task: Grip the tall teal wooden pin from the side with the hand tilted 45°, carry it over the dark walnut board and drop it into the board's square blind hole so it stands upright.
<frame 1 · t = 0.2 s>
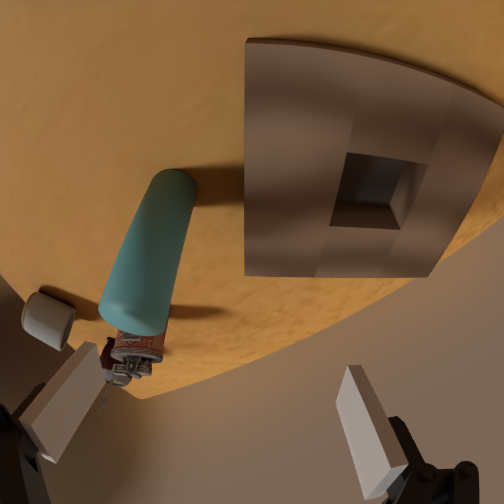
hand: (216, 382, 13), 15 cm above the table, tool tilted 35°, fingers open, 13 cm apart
lighter: (146, 308, 38), on the table
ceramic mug: (57, 304, 39), on the table
mate gourd: (120, 342, 48), on the table
pin: (173, 189, 23), on the table
hole board: (362, 165, 20), on the table
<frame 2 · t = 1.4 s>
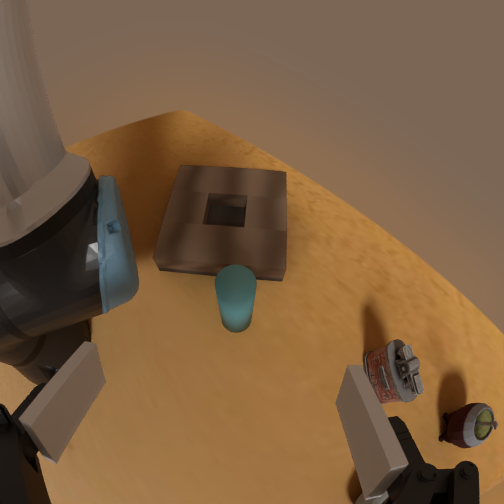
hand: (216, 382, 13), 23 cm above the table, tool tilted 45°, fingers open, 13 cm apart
lighter: (375, 378, 34), on the table
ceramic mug: (383, 491, 25), on the table
mate gourd: (448, 427, 29), on the table
pin: (236, 318, 38), on the table
hole board: (226, 224, 45), on the table
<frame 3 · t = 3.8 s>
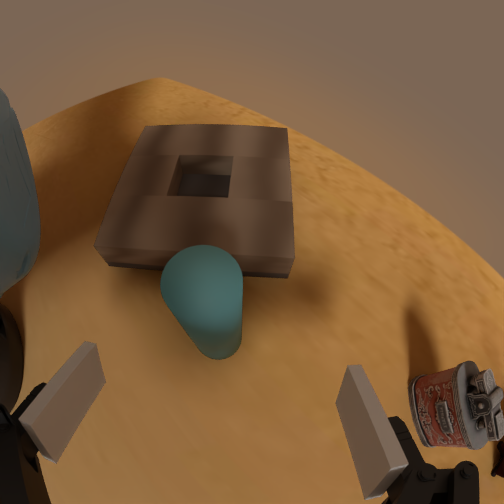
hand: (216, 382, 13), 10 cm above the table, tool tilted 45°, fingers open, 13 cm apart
lighter: (424, 412, 20), on the table
mate gourd: (501, 458, 15), on the table
pin: (218, 337, 24), on the table
hole board: (204, 199, 31), on the table
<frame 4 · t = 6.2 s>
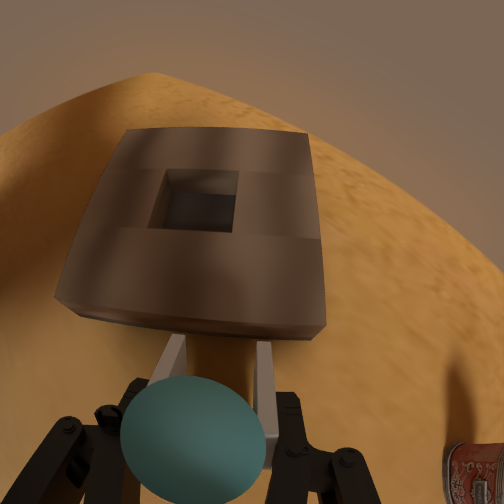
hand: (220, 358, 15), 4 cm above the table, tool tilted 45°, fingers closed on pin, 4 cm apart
lighter: (455, 478, 13), on the table
pin: (220, 419, 16), on the table, touching gripper
hole board: (200, 227, 24), on the table
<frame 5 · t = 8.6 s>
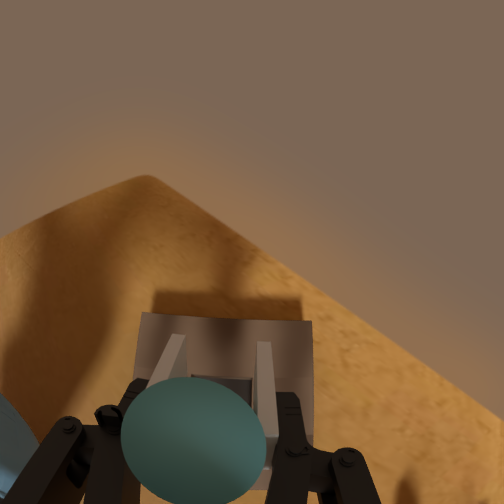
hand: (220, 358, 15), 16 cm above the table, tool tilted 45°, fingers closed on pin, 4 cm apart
pin: (220, 420, 16), point 12 cm above the table, touching gripper
hole board: (222, 405, 28), on the table
when the fingers open (7 cm above the table, at t = 11.1 s): pin drops 2 cm, resting on hole board.
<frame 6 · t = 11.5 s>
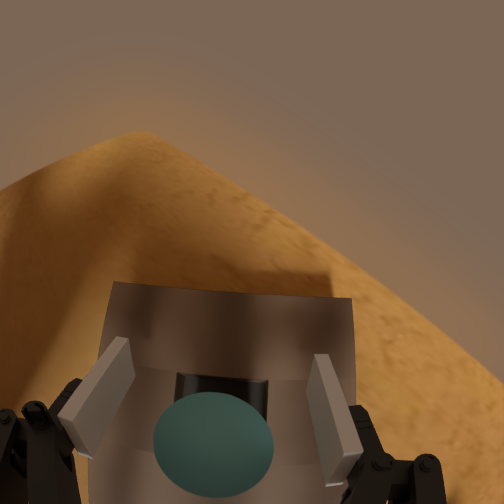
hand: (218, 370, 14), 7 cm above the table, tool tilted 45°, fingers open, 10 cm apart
pin: (222, 419, 18), point 1 cm above the table, touching hole board
hole board: (222, 417, 19), on the table
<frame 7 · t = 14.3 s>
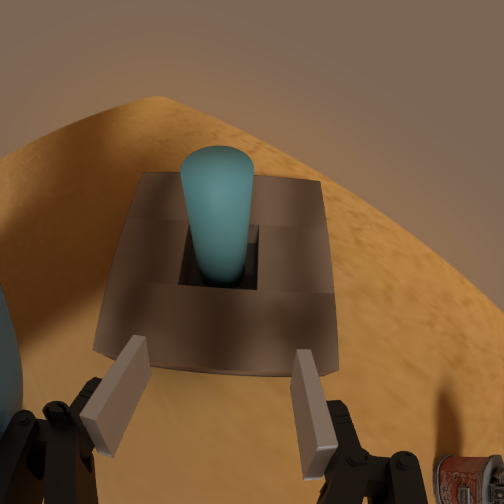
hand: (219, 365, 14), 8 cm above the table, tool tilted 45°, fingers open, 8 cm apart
lighter: (444, 484, 15), on the table
pin: (222, 270, 25), point 1 cm above the table, touching hole board
hole board: (222, 275, 26), on the table
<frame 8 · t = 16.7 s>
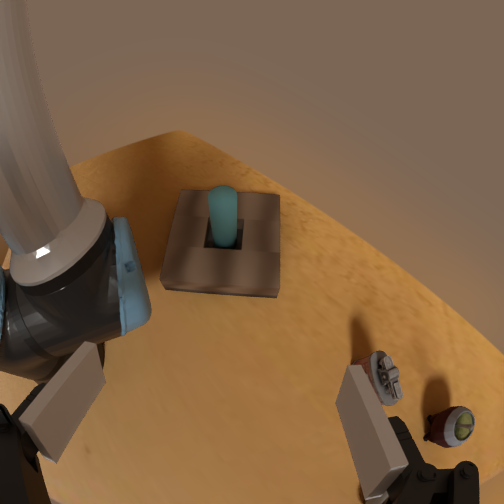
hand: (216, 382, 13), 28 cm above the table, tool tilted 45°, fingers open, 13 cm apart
lighter: (362, 383, 38), on the table
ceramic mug: (389, 492, 28), on the table
mate gourd: (432, 428, 33), on the table
pin: (225, 243, 48), point 1 cm above the table, touching hole board
hole board: (225, 245, 49), on the table
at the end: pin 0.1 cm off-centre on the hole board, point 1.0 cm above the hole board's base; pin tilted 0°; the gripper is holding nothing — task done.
